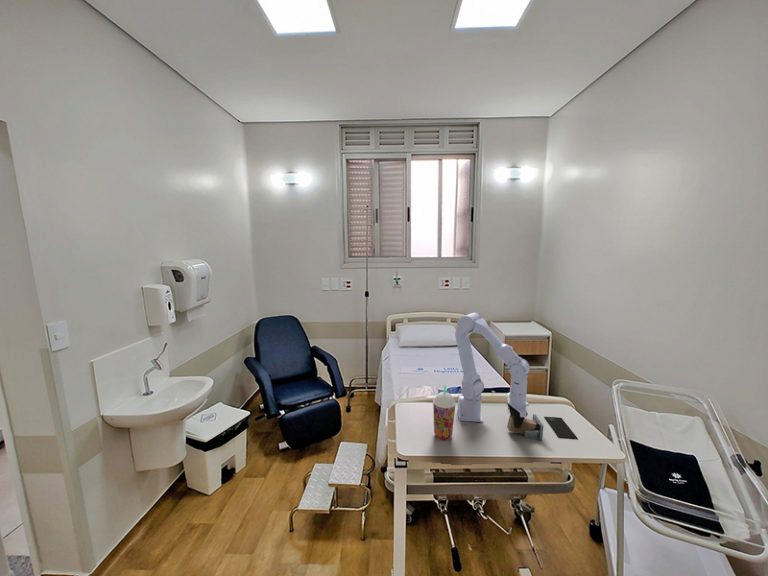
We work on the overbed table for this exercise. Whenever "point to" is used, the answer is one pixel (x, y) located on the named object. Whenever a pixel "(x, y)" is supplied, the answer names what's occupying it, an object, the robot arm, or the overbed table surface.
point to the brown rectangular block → (526, 425)
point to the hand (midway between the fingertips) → (515, 424)
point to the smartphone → (560, 428)
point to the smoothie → (443, 414)
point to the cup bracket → (537, 432)
